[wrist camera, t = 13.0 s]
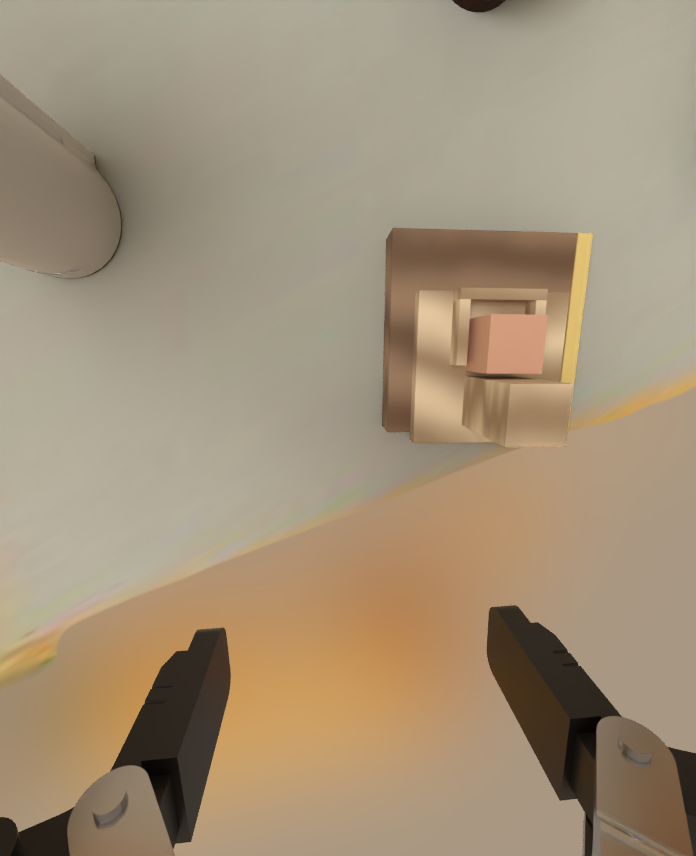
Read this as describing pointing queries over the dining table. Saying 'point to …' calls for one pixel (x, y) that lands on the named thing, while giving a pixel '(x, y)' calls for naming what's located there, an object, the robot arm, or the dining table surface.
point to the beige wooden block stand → (479, 392)
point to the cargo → (506, 344)
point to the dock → (472, 268)
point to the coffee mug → (478, 4)
